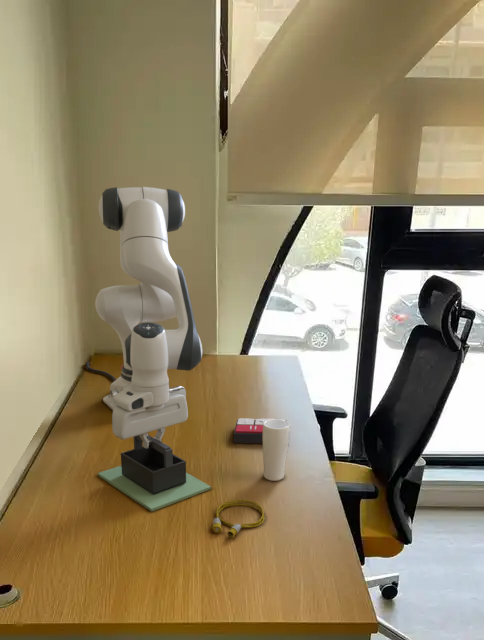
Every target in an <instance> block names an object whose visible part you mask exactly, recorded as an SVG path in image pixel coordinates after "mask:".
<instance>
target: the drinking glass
mask: <svg viewBox="0 0 484 640" xmlns="http://www.w3.org/2000/svg"><path fill="white" fill-rule="evenodd" d="M269 419H270V420H267V421H265V422H264V423H263V443H262V457H263V460H262V461H263V477H264V478H265V479H266V480H268V481H272V482H278V481H281V480H283V479H284V477H285V470H286V469H285V468H286V463H287V456H288V450H289V445H290V444H289V443H290V433H291V432H290V431H291V429H290V428H291V425H290V424H291V423H289V421H288V420H287V421H285V420H286V419H285V420H281V419H282V418H281V419H280V418H269Z"/></svg>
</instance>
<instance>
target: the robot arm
mask: <svg viewBox="0 0 484 640" xmlns="http://www.w3.org/2000/svg"><path fill="white" fill-rule="evenodd" d="M98 213H99V216H100V217H99V218H100V220H101V221H102V225H103V226H104V227H105V228H107V229H108V230H111V231H114V232H115V231H116V232H119V231H120V233H119V234H120V236H119V241H120V242H119V253H120V255H119V256H120V258H119V259H120V260H119V261H120V263H119V264H120V267H121V269H122V271H123V272H124V274H126V275H128V276H129V277H131V278H132V279H135V280H136V281H139V282H140V284H139V283H138V284H124V285H123V284H122V285H119V284H118V285H113V286H108V287H104V288H102V289H100V290H99V292H98V293H97V295H96V297H95V305H94V306H95V310H96V313H97V315H98V317H99V318H100V319H101V321H103V322H104V323H106V324H108V325H109V326H110V327H111V328H112V329H113V330H114V331H115V332H116V334H117V336H118V338H119V340H120V343H121V348H122V358H123V364H121V365H120V368H119V370H121V373H120V376H119V377H118V378H115V377H114V376H113V375H112V374H111V373H110V372H109V373H108V372H107V371H104V370H101V369H100V370H99V369H95V368H91V367H90V361H89V360H88V361H86V362H87V363H85V367H86V369H87V370H88V371H90V372H93V373H97V374H102V375H105V376H107V377H109V378H110V379H111V380H112V381H113V382H111V384H110V386H109V394H108V395H105V396H104V397H103V398H102V402H103V403H104V404H106V405H107V407H108V408H110V409H111V410H112V418H111V429H112V434H113V435H114V436H116V437H117V438H118V439H120V440H123V441H124V440H127V439H131V438H134V436H138V435H139V436H140V438H141V439H142V440H143V442H142V446H143V447H144V448H146V449H147V448H150V447H152V445H151V444H152V441H151V440H149V439H147V437H146V436H148V435H149V433H150V432H154V431H156V433H155V435H154V436H152V437H153V438H155V439H157V440H158V441H160V442H162V441H163V440H162V439H163V437H164V434H165V433H166V428H168V427H171V426H174V425H178V424H181V423H185V422H186V421H187V420H188V418H189V412H188V411H189V410H188V409H189V408H188V403H187V390H186V388H185V387H184V386H181V385H176V386H174V387H170V379H169V375H168V370H176V371H177V370H178V371H189V372H190V371H192V370H193V369H194V368H196V367H197V366H198V365H199V364H200V363H201V362H202V357H203V344H202V341H201V338H200V336H199V333H198V328H197V325H196V321H195V316H194V312H193V306H192V302H191V298H190V297H191V296H190V293H189V288H188V284H187V281H186V277H185V273H184V271H183V269H182V266H181V265H179V264H177V263H176V262H175V261H174V260H173V258H172V256H171V255H170V254H171V253H170V250H169V238H168V233H172V232H175V231H178V230H179V229H181V227H182V226H183V222H184V220H185V216H186V205H185V201H184V200H183V196H182V195H181V194H180V192H179V191H178V190H174V189H170V188H166V189H164V188H158V187H151V186H141V187H140V186H139V187H138V186H137V187H136V186H135V187H132V186H131V187H130V186H129V187H117V186H115V187H109V188H105V190H103V191H102V194H101V197H100V199H99V202H98ZM176 318H177V322H178V328H176V329H165V327H163V326H162V325H161V324H159V323H156V322H166V321H169V320H173V319H176ZM162 443H163V442H162Z"/></svg>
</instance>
